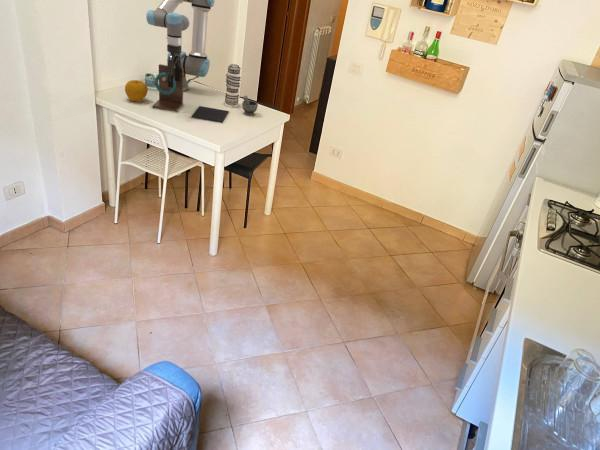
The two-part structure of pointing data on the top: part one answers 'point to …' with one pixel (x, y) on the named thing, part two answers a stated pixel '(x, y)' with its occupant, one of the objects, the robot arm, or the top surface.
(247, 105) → the mortar and pestle
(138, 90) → the apple
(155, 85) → the ring
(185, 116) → the top surface
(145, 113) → the top surface
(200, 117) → the mat
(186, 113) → the top surface
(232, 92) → the decorative candle
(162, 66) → the hook board
